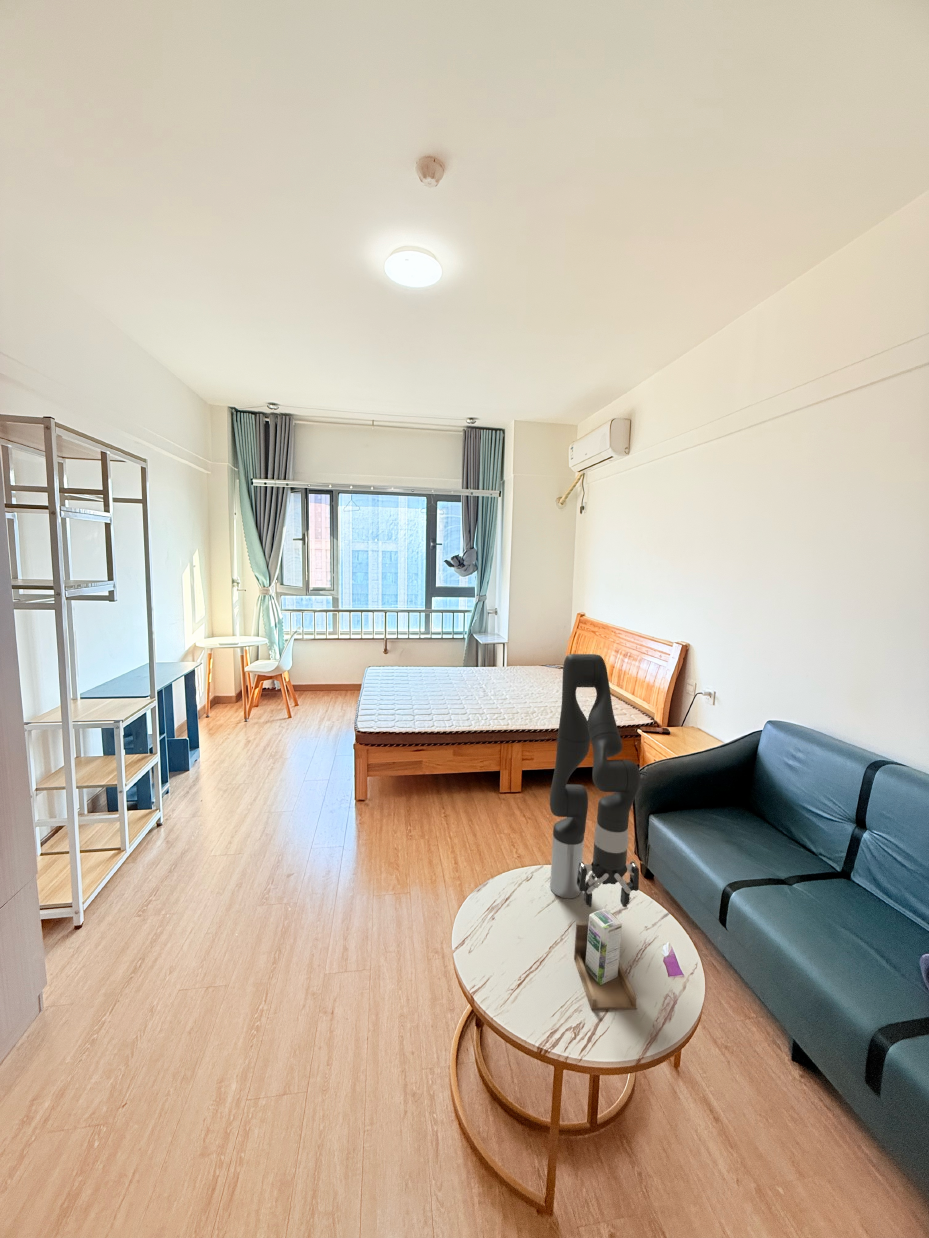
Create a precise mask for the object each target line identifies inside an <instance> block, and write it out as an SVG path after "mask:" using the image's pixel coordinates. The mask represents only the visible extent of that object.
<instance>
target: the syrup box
mask: <svg viewBox="0 0 929 1238" xmlns="http://www.w3.org/2000/svg"><path fill="white" fill-rule="evenodd" d="M588 922H589V924H588V938H587V951H586V962H585V969H586V970H587V971H588V972H589V973H590V974H591V975H592V976H593V977H594V979H595V980H596V981H597V982H598V983H599V984H600V985H602V984H604V983H606V982H608V981H610V980H612V979H614V978H616V977H617V976H618V965H619V961H620V954H621V953H620V952H621V951H620V950H621V939H622V929H623V922H622V921H621V920H619V919H618V918H617V917H616V916H615V915H614V914H613V913H612V912H610V911H609V910H608V909H607V908H603V909H599V910H597V911H593V912H592V913H590V914H589V915H588Z"/></svg>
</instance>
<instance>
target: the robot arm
mask: <svg viewBox="0 0 929 1238" xmlns="http://www.w3.org/2000/svg"><path fill="white" fill-rule="evenodd" d="M562 668H563V669H562V682H561V683H562V688H561V689H562V690H561V708H560V717H559V724H558V730H557V738H556V740H557V741H556V754H555V755H556V756H555V765H554V771H553V776H552V782H551V787H550V791H549V792H550V793H549V808H550V812H551V813H552V814H553V816H555V817H559V818H563V819H560V820H558V821H557V822H555V823H554V825H553V828H552V843H551V844H552V845H551V846H552V847H551V862H550V864H551V865H550V880H549V888H550V890H551V892H552V893H553V894H555V896H558V898H559V897H560V898H563V899H574V898H577V897H579V895H580V894H581V892H583V901H584V903H585V905H586V906H587V908H592V907H593V906H592V904H593V892H594V890H596V889H598V888H599V887H600V886H601V885H608V884H611V885H616V884H617V883H618V884H619V885H620V886H621V890H620V904H621V905H622V906H621V907H623V908H627V905H629V904H630V897H631V896H630V895H631V893H632V891H635V892H638V891H639V889H640V887H639V886H640V885H639V884H640V869H639V867H638V865H637V864H636V862H635V861H631V862H630V863H628V864H627V857H628V845H629V819H630V812H631V809H632V806H633V804H634V800H635V798H636V795H637V794H638V792H639V788H640V786H641V779H642V777H641V772H640V771H641V770H640V768H639V766H638V764H636V763H635V762H634V761H632V760H629V759H620V760H619V759H608V758H611V757H614V756H617V755H619V754H620V753H621V752H622V750H623V742H622V738H621V734H620V732H619V728H618V725H617V722H616V718H615V714H614V710H613V709H614V708H613V702H612V694H611V688H610V683H609V675H608V668H607V666H606V662H605V660H604V658H603V657H602V656H601V655H600V654H595V653H594V654H593V653H570V654H567V655H566V656H565V658H564V661H563V666H562ZM577 688H593V689H595V691H596V697H595V701H594V702H593V705H592V707H591V710H590V712H589V714H588V718H587V717H586V716H585V714H584V712H583V711H582V709H581V707H580V705H579V702H578V700H577ZM590 746H592V755H593V756H592V757H593V758H592V759H593V760H592V761H593V763H592V764H593V765H592V774H591V775H592V782H593V784H594V786H595V788H597V789H598V790H599V791H600V792H603V793H611V794H609V795H606V796H603V797H601V798H599V800H598V803H597V813H596V814H597V816H596V817H597V818H596V824H595V828H594V837H593V838H594V839H593V841H594V842H593V854H592V855H593V856H592V862H591V864H585V863H584V860H583V857H584V843H585V833H586V824H587V817H588V811H589V809H588V808H589V794H588V791H587V788H586V787H585V786H584V785H582V784H569V783H568V781H569V779H570V777H571V775H572V774H573V772H574V771H576V769H577V768H578V767H579V766H580V765H581V763H582V762H583V761H584V760H585V759H586V757H587V756H588V755H589V751H590ZM567 783H568V784H567ZM590 872H591V873H590ZM627 872H628V873H629V881H628V882H626V880H625V878H624V876H625V875H626V874H627ZM589 873H590V874H589ZM587 876H588V878H587Z"/></svg>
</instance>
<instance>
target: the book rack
mask: <svg viewBox="0 0 929 1238" xmlns="http://www.w3.org/2000/svg"><path fill="white" fill-rule="evenodd" d="M575 923H576V924H575V925H576V926H575V939H574V953H573V961H574V964H575V966H576V969H577V973H578V974H579V978H580V980H581V983H582V987H583V990H584V992H585V995H586V998H587V999H586V1000H587V1001H588V1005H589V1007H590V1010H591V1011H594V1010H596V1011H598V1010H599V1011H600V1010H605V1011H606V1010H635V1009H636V1010H637V997H636V995H635V993H634V990H633V988H632V986H631V983H630V981H629V979H628V977H627V974H626V972H625V970H624V968H623V965H622V963H621V961H620V960H619V965H618V976H617V977H616V978H614V979H612V980H610V981H608V982H606V983H604V984H602V985H600V984H599V983H598V982H597V981H596V980H595V979H594V977H593V976H592V975H591V974H590V973H589V972H588V971H587V970H586V969H585V962H586V951H587V938H588V924H589V921H577V922H575Z"/></svg>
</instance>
